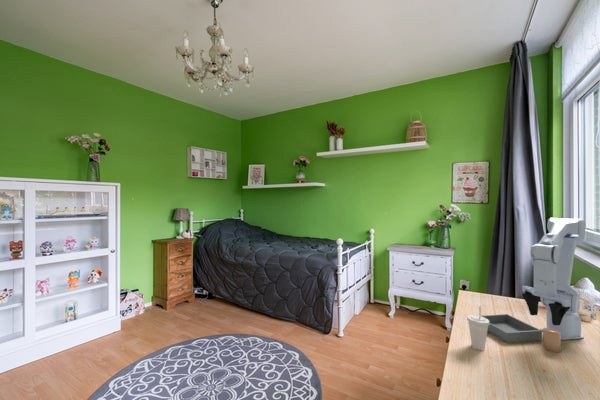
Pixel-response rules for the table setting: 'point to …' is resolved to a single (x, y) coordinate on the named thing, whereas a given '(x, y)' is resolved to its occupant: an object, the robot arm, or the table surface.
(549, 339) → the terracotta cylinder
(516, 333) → the tub
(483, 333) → the smoothie
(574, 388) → the table surface
